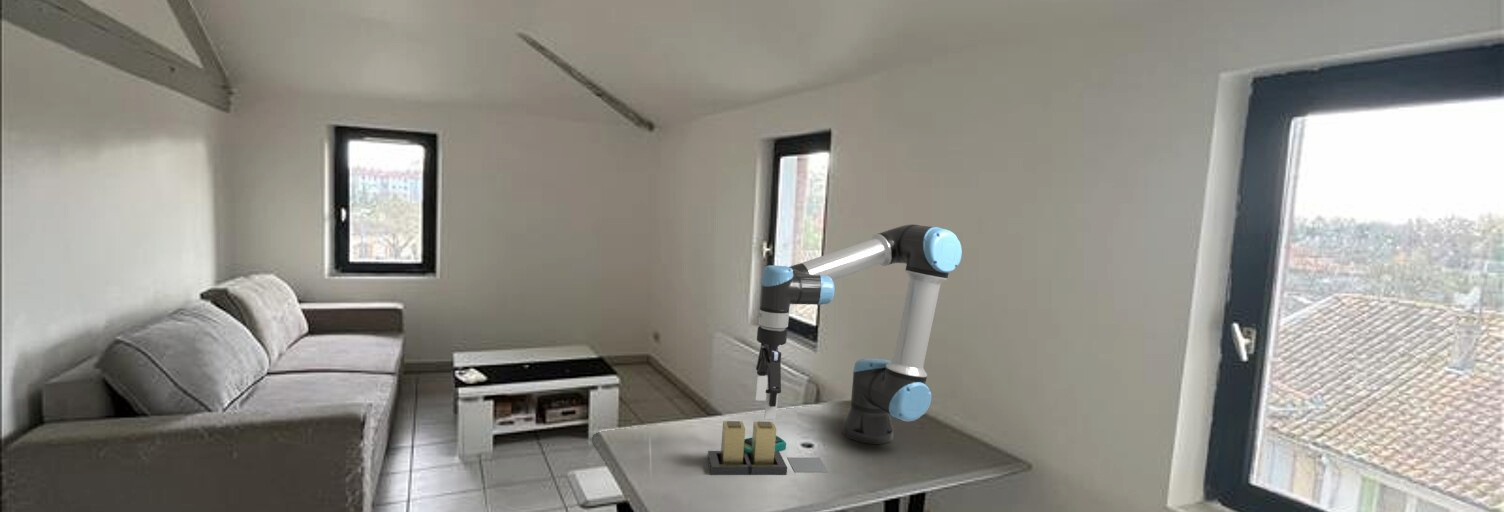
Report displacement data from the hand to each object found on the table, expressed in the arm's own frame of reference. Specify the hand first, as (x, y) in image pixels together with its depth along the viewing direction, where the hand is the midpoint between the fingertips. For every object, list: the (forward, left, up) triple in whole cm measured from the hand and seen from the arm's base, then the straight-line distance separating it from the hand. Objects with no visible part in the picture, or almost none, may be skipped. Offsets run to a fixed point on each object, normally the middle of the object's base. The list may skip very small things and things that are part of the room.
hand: (765, 408), depth 173 cm
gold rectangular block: (+8, 0, -15) cm, 17 cm away
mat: (-13, -1, -16) cm, 20 cm away
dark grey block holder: (+4, 0, -16) cm, 16 cm away
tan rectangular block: (0, 0, -15) cm, 15 cm away
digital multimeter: (-1, -11, -16) cm, 19 cm away
